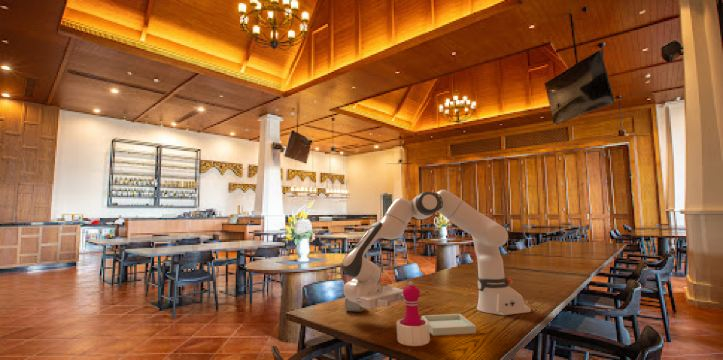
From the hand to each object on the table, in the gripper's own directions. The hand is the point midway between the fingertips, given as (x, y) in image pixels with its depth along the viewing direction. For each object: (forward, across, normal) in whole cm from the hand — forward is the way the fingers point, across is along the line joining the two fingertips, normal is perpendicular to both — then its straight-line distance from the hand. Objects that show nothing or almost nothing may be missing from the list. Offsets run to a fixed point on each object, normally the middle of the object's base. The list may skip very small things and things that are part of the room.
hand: (397, 301), depth 126 cm
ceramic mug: (-38, +10, +12) cm, 41 cm away
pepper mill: (+7, 0, +12) cm, 14 cm away
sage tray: (+7, +19, +12) cm, 24 cm away
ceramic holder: (+7, 0, +12) cm, 14 cm away
